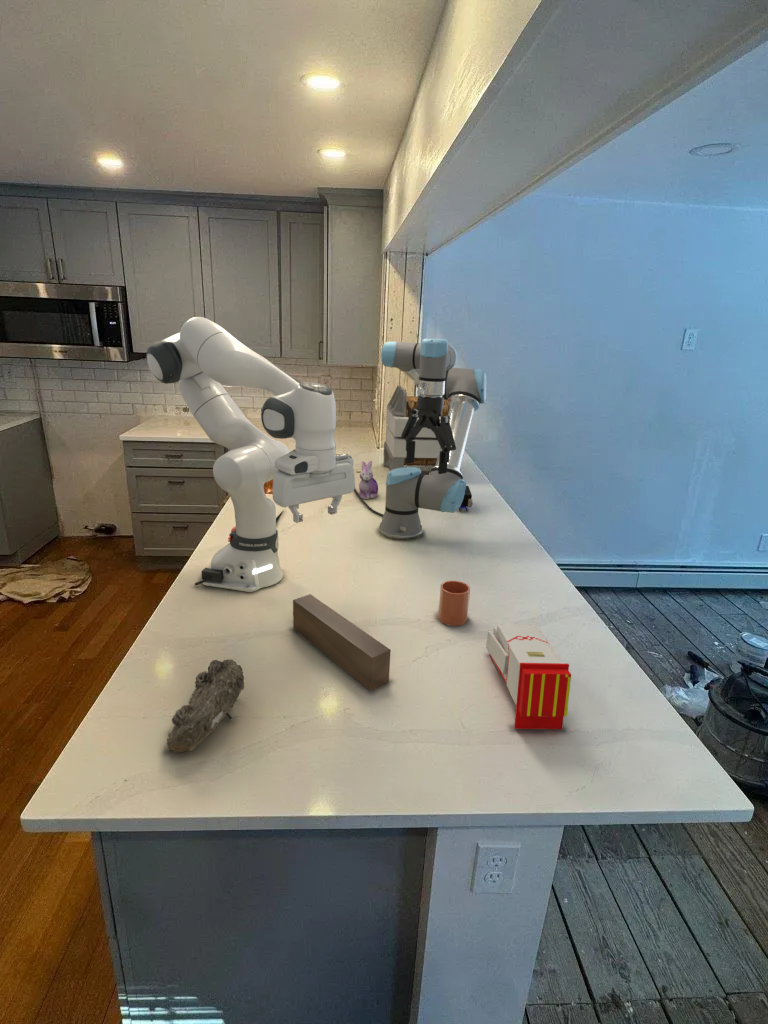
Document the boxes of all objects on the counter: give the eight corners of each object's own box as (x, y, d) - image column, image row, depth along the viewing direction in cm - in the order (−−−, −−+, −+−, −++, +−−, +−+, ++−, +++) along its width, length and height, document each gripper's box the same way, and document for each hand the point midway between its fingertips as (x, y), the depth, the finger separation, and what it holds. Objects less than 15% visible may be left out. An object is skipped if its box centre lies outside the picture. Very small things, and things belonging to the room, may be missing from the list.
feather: (290, 505, 227) (293, 501, 226) (273, 528, 200) (276, 524, 200) (286, 502, 226) (289, 498, 226) (269, 525, 200) (272, 521, 199)
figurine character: (472, 516, 224) (466, 500, 237) (474, 499, 220) (469, 483, 234) (455, 515, 224) (451, 499, 237) (457, 498, 220) (452, 483, 234)
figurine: (363, 500, 232) (364, 465, 227) (352, 493, 240) (353, 459, 235) (383, 498, 236) (385, 463, 231) (372, 491, 244) (373, 457, 239)
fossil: (192, 660, 117) (244, 628, 112) (224, 691, 120) (276, 661, 115) (142, 746, 98) (202, 712, 93) (182, 779, 101) (242, 748, 96)
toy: (533, 609, 133) (580, 670, 104) (528, 661, 136) (573, 736, 107) (482, 608, 133) (514, 669, 103) (478, 661, 135) (509, 735, 106)
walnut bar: (310, 622, 142) (310, 594, 139) (389, 681, 121) (390, 649, 118) (293, 628, 139) (292, 599, 136) (370, 690, 118) (372, 658, 115)
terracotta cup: (432, 616, 147) (434, 585, 144) (451, 608, 152) (454, 578, 149) (453, 629, 142) (456, 597, 139) (472, 619, 146) (476, 588, 143)
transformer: (382, 463, 289) (386, 382, 275) (445, 464, 293) (451, 384, 279) (390, 482, 257) (394, 392, 243) (460, 483, 261) (468, 394, 247)
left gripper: (344, 450, 133) (343, 505, 138) (268, 461, 121) (269, 522, 125) (361, 455, 129) (359, 512, 134) (283, 468, 116) (284, 531, 121)
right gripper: (391, 390, 167) (388, 460, 174) (454, 402, 150) (447, 479, 157) (410, 389, 172) (406, 457, 179) (473, 400, 154) (465, 475, 162)
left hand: (315, 517), depth 129 cm, fingers open, 8 cm apart
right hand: (425, 467), depth 168 cm, fingers open, 13 cm apart
